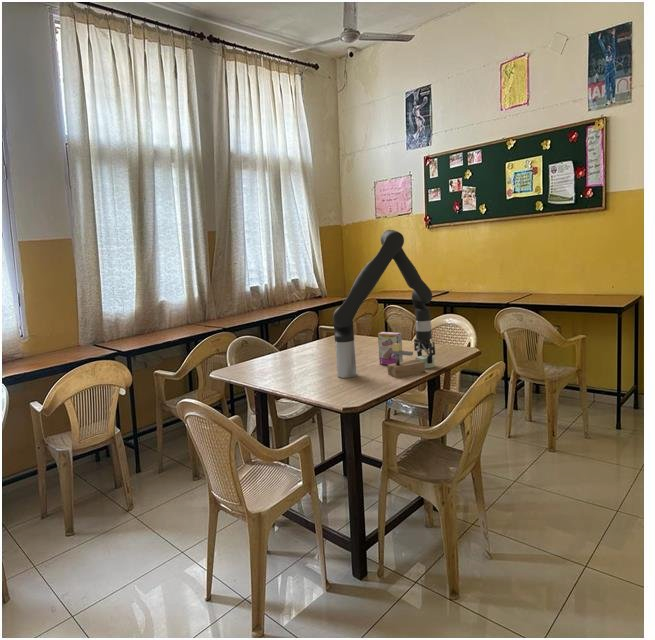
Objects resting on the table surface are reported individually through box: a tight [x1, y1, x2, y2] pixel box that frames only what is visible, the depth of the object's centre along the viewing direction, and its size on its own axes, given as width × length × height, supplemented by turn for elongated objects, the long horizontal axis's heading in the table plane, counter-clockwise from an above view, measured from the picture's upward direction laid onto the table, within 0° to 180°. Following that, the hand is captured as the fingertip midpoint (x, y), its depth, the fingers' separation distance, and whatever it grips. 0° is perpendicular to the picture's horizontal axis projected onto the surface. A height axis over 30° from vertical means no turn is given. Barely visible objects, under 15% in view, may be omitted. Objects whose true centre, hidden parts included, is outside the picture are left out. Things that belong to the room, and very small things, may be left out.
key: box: [390, 343, 414, 365], centre depth 234 cm, size 2×11×10 cm, turn 48°
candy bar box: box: [377, 331, 404, 366], centre depth 256 cm, size 11×5×16 cm, turn 56°
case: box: [387, 358, 426, 379], centre depth 239 cm, size 7×16×5 cm, turn 114°
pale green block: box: [414, 354, 436, 369], centre depth 249 cm, size 6×7×5 cm
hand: (425, 361), depth 249 cm, fingers open, 8 cm apart
